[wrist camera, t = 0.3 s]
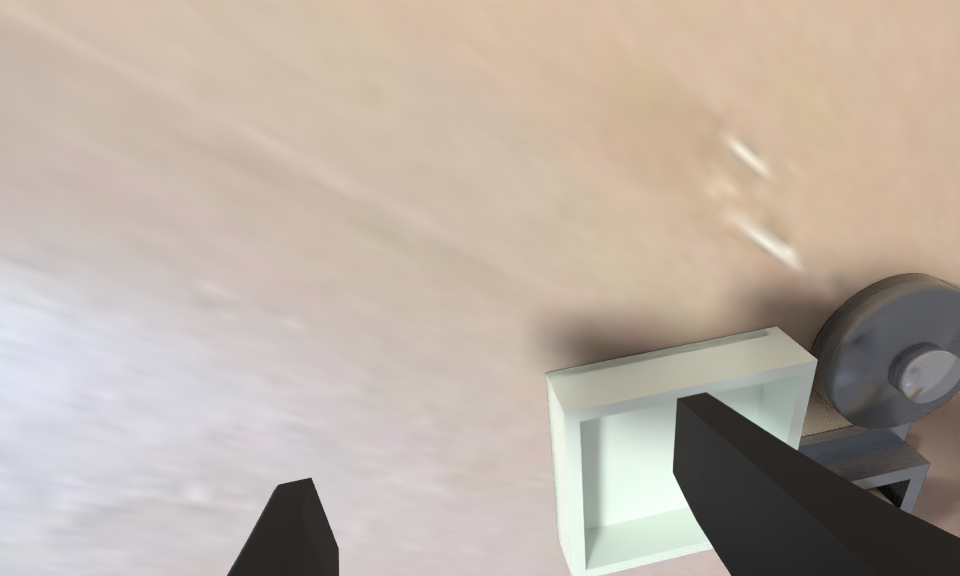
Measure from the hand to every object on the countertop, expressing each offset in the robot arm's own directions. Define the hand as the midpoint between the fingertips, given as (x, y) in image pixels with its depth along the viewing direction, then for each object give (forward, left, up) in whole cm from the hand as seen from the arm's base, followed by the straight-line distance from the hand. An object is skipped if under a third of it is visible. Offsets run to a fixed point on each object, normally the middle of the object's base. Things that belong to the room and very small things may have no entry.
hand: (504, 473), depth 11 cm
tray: (-11, -8, -10) cm, 17 cm away
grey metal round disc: (-8, -19, -10) cm, 23 cm away
